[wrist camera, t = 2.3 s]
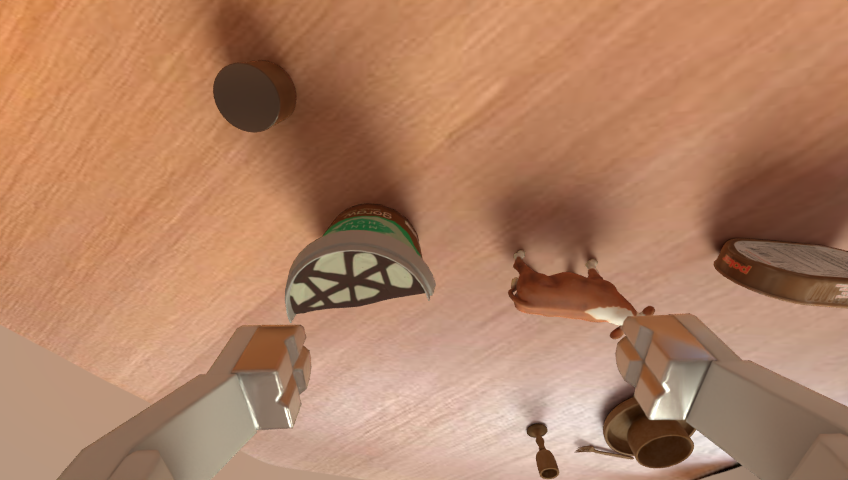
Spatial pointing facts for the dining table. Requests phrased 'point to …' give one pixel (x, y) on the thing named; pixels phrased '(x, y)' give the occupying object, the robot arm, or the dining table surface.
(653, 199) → the dining table surface
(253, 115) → the brown cylinder
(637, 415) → the place setting
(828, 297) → the tin
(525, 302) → the bull figurine
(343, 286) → the food container
